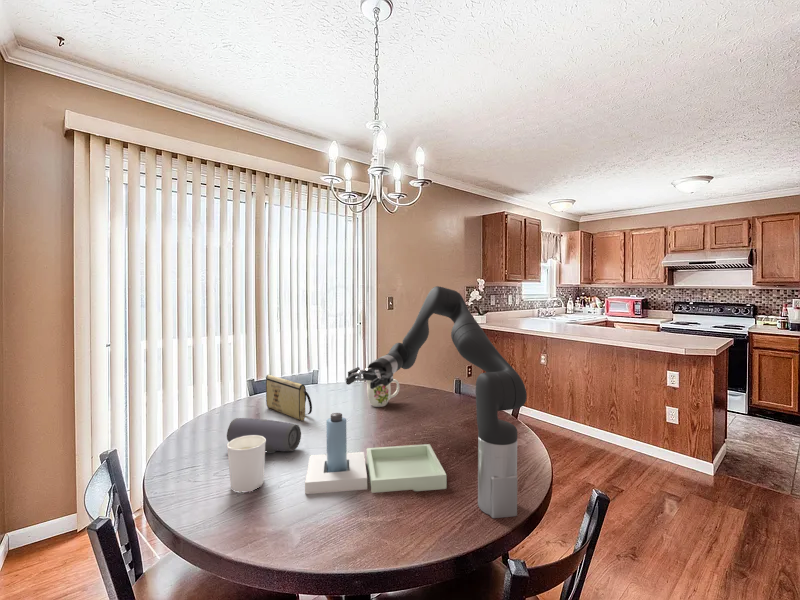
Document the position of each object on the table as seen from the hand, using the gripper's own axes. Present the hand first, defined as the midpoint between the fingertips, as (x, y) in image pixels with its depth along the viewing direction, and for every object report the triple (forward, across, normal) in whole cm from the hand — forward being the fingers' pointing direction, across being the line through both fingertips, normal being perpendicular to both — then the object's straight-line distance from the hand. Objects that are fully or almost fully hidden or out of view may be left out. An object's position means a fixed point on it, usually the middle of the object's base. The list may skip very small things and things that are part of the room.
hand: (359, 383), depth 118 cm
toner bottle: (+14, +1, +22) cm, 26 cm away
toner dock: (+14, +1, +23) cm, 27 cm away
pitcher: (-50, -19, +30) cm, 62 cm away
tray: (+4, +17, +23) cm, 29 cm away
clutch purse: (-24, -50, +29) cm, 62 cm away
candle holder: (+27, -20, +23) cm, 41 cm away
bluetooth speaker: (+8, -32, +25) cm, 42 cm away
